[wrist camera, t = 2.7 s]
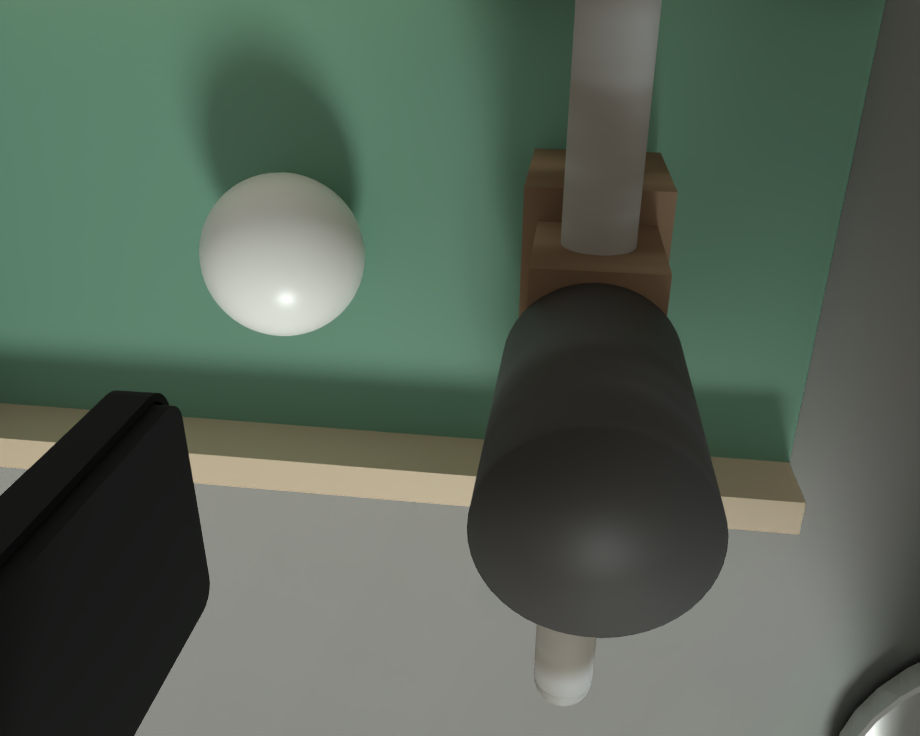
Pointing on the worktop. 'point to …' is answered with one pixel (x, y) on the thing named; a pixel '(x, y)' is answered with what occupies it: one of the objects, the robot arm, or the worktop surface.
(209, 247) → the ball
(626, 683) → the worktop surface
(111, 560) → the robot arm
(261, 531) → the worktop surface
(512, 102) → the pitch
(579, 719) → the worktop surface
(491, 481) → the kicker
